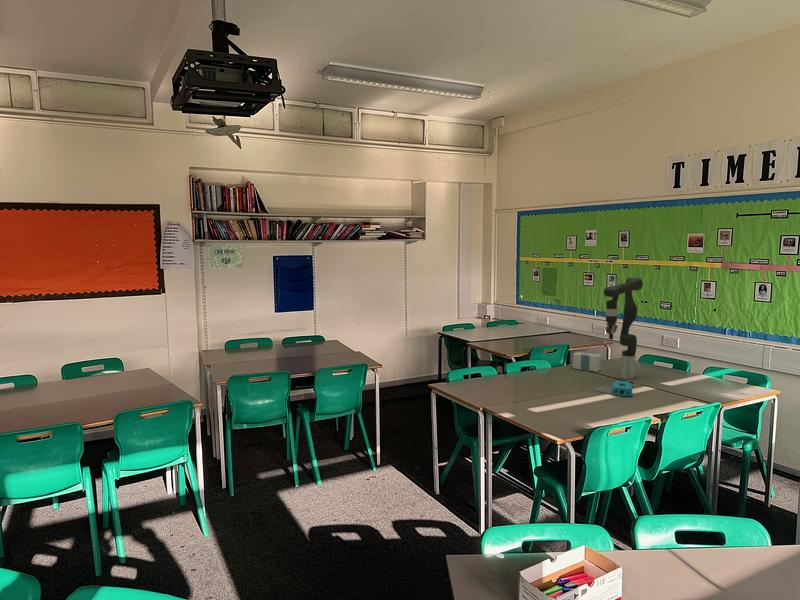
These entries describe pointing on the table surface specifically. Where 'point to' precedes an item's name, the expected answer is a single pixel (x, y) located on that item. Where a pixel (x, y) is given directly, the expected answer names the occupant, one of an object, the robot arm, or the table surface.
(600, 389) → the mat
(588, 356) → the stereo radio cassette player
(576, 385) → the table surface
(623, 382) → the block
